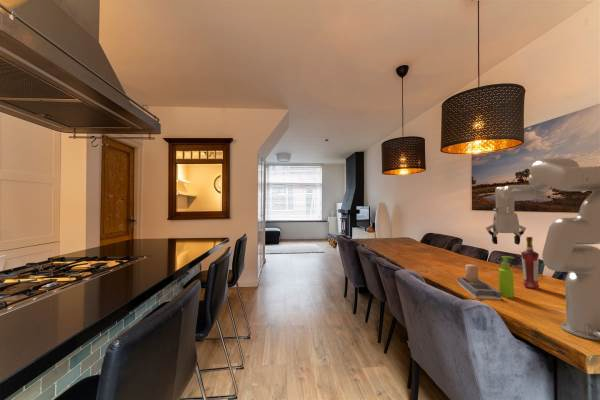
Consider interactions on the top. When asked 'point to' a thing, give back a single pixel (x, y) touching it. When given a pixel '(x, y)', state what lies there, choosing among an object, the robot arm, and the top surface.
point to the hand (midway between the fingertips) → (505, 243)
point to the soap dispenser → (506, 279)
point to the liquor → (530, 265)
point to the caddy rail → (477, 284)
